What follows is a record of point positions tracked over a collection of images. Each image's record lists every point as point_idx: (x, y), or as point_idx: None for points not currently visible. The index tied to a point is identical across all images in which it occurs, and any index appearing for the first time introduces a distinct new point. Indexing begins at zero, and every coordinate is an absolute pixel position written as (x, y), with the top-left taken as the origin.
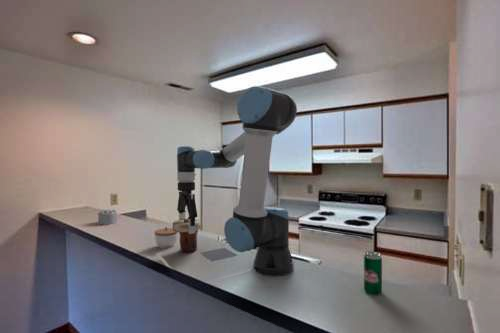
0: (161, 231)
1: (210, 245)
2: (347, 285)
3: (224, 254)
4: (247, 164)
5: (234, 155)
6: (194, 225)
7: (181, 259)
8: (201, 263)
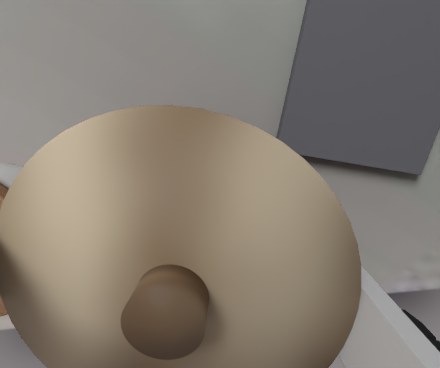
0: None
1: (172, 4)
2: None
3: (407, 62)
4: None
5: None
6: (407, 315)
7: None
8: (369, 202)
